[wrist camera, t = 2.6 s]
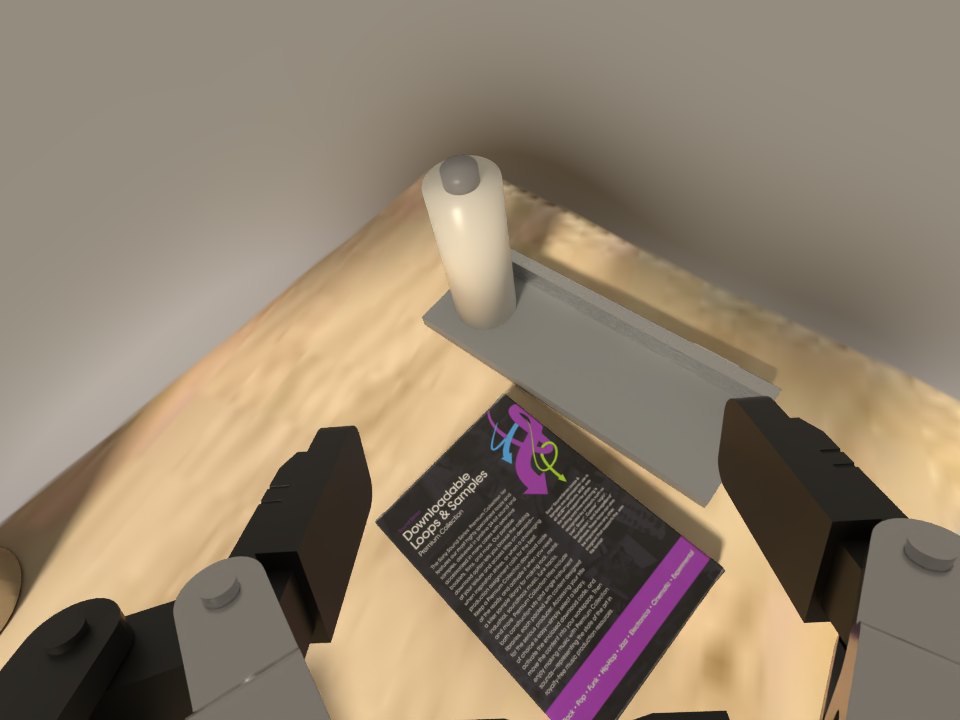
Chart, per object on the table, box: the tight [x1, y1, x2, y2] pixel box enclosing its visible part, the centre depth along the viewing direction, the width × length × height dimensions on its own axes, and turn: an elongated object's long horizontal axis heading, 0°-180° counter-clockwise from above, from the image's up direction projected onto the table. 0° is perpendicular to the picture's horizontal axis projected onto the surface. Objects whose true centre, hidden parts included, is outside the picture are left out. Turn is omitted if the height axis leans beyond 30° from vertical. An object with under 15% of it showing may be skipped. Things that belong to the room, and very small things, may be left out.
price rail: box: [510, 248, 781, 401], centre depth 44 cm, size 28×1×2 cm, turn 50°
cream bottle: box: [422, 155, 516, 330], centre depth 41 cm, size 6×6×15 cm
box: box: [375, 394, 725, 720], centre depth 36 cm, size 14×4×20 cm
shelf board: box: [422, 275, 737, 507], centre depth 44 cm, size 28×10×1 cm, turn 50°
